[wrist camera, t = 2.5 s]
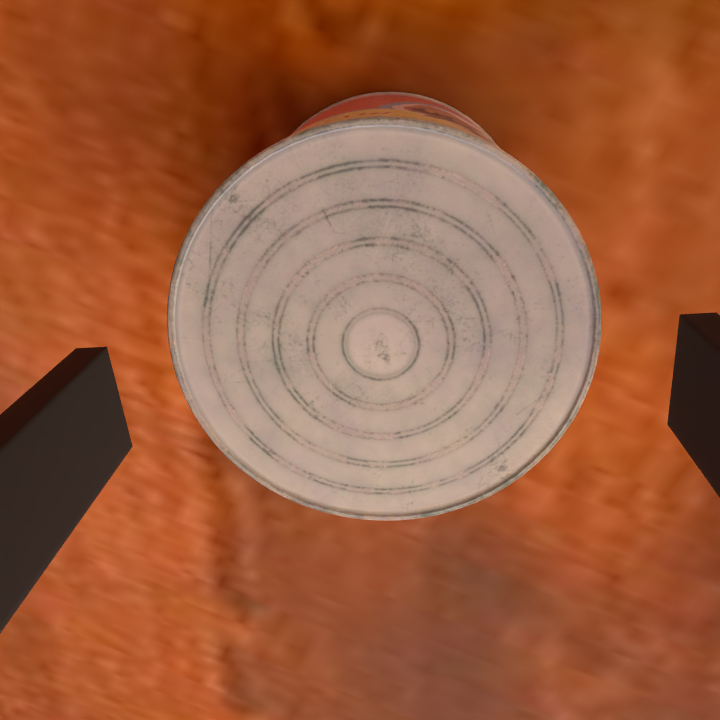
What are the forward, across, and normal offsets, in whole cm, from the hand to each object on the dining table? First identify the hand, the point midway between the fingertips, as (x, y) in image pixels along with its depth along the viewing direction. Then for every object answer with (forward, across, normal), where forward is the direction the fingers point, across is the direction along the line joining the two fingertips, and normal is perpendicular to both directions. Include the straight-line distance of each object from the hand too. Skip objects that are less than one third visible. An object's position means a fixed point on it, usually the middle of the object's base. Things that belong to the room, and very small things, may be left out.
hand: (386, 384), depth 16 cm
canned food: (+14, 0, 0) cm, 14 cm away
